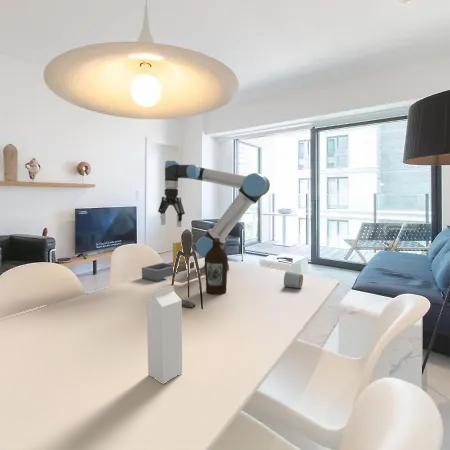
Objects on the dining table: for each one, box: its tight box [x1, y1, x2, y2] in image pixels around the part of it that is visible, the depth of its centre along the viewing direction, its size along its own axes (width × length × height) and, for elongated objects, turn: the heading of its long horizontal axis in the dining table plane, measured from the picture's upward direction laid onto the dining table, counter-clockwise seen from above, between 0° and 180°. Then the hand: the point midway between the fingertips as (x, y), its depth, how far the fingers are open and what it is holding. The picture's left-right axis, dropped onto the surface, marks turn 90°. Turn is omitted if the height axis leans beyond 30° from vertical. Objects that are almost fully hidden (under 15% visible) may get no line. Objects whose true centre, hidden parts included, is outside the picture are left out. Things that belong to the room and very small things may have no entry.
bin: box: [141, 262, 179, 283], centre depth 164 cm, size 12×15×6 cm
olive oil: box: [204, 238, 229, 296], centre depth 139 cm, size 11×11×25 cm
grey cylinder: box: [283, 270, 304, 289], centre depth 149 cm, size 11×8×8 cm
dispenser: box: [166, 261, 195, 273], centre depth 178 cm, size 10×14×6 cm
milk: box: [146, 285, 183, 383], centre depth 74 cm, size 6×6×22 cm
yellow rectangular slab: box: [172, 240, 185, 264], centre depth 177 cm, size 2×9×16 cm, turn 146°
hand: (170, 225), depth 174 cm, fingers open, 13 cm apart
